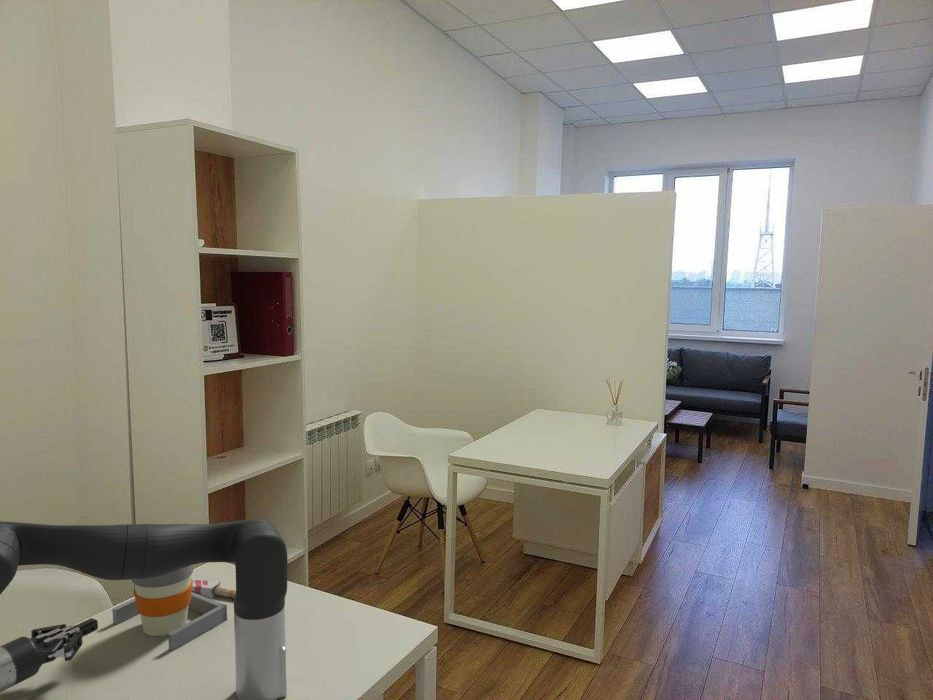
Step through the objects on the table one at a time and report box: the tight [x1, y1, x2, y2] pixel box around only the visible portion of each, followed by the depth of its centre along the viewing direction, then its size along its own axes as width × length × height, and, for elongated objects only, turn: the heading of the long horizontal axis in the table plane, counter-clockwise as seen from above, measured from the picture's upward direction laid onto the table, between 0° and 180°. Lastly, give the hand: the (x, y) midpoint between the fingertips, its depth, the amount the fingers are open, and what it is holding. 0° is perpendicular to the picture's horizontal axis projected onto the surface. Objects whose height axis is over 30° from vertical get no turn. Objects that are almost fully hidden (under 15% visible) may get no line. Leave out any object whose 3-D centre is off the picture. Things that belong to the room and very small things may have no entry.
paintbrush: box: [192, 579, 236, 599], centre depth 165 cm, size 4×3×20 cm
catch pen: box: [111, 591, 228, 652], centre depth 152 cm, size 14×20×4 cm
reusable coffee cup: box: [131, 565, 194, 637], centre depth 150 cm, size 13×13×15 cm
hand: (95, 623), depth 136 cm, fingers closed
